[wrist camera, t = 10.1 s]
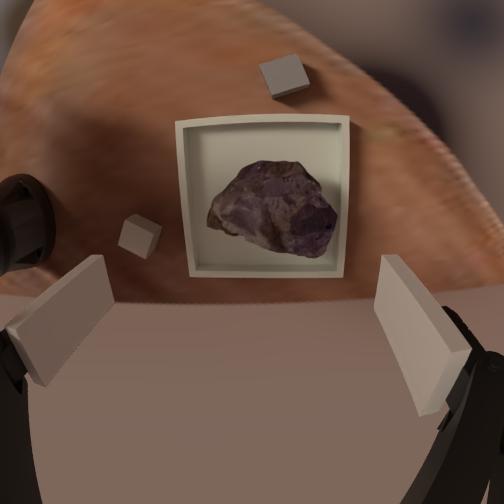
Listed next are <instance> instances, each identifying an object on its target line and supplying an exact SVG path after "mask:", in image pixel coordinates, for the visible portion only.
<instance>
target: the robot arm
mask: <svg viewBox="0 0 504 504" xmlns="http://www.w3.org/2000/svg"><path fill="white" fill-rule="evenodd" d="M54 241H55V221H54V215H53V211H52V207H51V204H50V201H49V199H48V197H47V195H46V193H45V191H44V189H43V188H42V186H41V185H40V184H39V183H38V182H37V181H36V180H35V179H34V178H33V177H31V176H29V175H27V174H17V175H13V176H10V177H8V178H6V179H4V180H3V181H2V182H0V276H2V275H3V274H5V273H6V272H10V271H16V270H22V269H27V268H32V267H35V266H37V265H38V264H40V263H41V262H43V261H44V260H46V259H47V258H48V257H49V255H50V254H51V252H52V249H53V246H54ZM114 303H115V301H114V297H113V294H112V290H111V286H110V282H109V278H108V274H107V270H106V266H105V261H104V257H103V255H91V256H89V257H88V258H87V259H85V260H84V261H83V262H81V263H80V264H79V265H77V266H76V267H75V268H73V269H72V270H71V271H69V272H68V273H67V274H66V275H64V276H63V277H62V278H61V279H59V280H58V281H57V282H56V283H54V284H53V285H52V286H51V287H49V288H48V289H47V290H46V291H44V292H43V293H42V294H41V295H40V296H38V297H37V298H36V299H35V300H34V301H32V302H31V303H30V304H29V305H28V306H27V307H25V308H24V309H23V310H22V311H21V312H20V313H19V314H18V315H16V316H15V317H14V318H13V319H12V320H11V321H10V322H9V323H7V324H6V325H5V329H4V330H3V331H1V332H0V504H42V500H41V496H40V491H39V487H38V482H37V477H36V472H35V466H34V460H33V454H32V446H31V437H30V428H29V413H28V384H27V380H26V379H25V377H24V375H25V374H26V373H27V372H28V373H29V375H30V376H31V378H32V379H33V381H34V383H36V384H39V385H41V386H44V387H47V386H48V384H49V383H50V382H51V381H52V379H53V378H54V377H55V375H56V374H57V373H58V371H59V370H60V369H61V368H62V366H63V365H64V364H65V362H66V361H67V360H68V359H69V357H70V356H71V355H72V354H73V352H74V351H75V350H76V349H77V347H78V346H79V345H80V344H81V342H82V341H83V340H84V339H85V337H86V336H87V335H88V334H89V333H90V332H91V330H92V329H93V328H94V327H95V326H96V324H97V323H98V322H99V321H100V320H101V318H102V317H103V316H104V315H105V314H106V313H107V311H108V310H109V309H110V308H111V307H112V306H113V305H114ZM374 310H375V312H376V315H377V317H378V319H379V321H380V323H381V325H382V328H383V330H384V332H385V334H386V336H387V338H388V341H389V343H390V345H391V348H392V350H393V352H394V354H395V357H396V359H397V361H398V364H399V366H400V368H401V371H402V373H403V376H404V378H405V381H406V383H407V386H408V388H409V391H410V393H411V396H412V399H413V401H414V404H415V407H416V409H417V412H418V415H419V417H421V416H426V415H430V414H434V413H439V411H440V410H441V408H442V406H443V405H444V403H445V401H446V402H447V404H448V406H449V408H450V409H449V411H448V413H447V414H446V416H445V417H444V419H443V421H442V422H441V424H440V425H439V427H438V428H437V429H439V432H438V435H437V437H436V439H435V441H434V443H433V446H432V448H431V450H430V452H429V454H428V456H427V458H426V460H425V462H424V463H423V466H422V467H421V469H420V471H419V473H418V475H417V477H416V478H415V480H414V481H413V483H412V485H411V487H410V488H409V490H408V492H407V493H406V495H405V496H404V498H403V500H402V501H401V503H400V504H481V501H482V499H483V496H484V494H485V491H486V488H487V485H488V482H489V480H490V484H489V492H488V499H487V504H504V356H503V355H501V354H499V353H497V352H493V351H485V350H484V348H483V347H482V346H481V344H480V343H479V342H478V340H477V339H476V337H475V336H474V335H473V334H472V332H471V331H470V330H468V327H467V326H466V324H465V323H463V321H462V319H461V318H460V317H459V316H458V314H457V313H456V312H454V311H453V310H451V309H450V308H448V307H447V306H442V307H441V306H440V305H439V303H438V302H437V301H436V300H435V299H434V297H433V296H432V295H431V293H430V292H429V291H428V290H427V289H426V287H425V286H424V285H423V284H422V283H421V281H420V280H419V279H418V278H417V277H416V275H415V274H414V273H413V272H412V271H411V270H410V268H409V267H408V266H407V265H406V264H405V263H404V262H403V260H402V259H401V258H400V257H399V256H398V255H382V258H381V265H380V272H379V278H378V285H377V291H376V296H375V302H374Z"/></svg>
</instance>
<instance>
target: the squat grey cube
mask: <svg viewBox="0 0 504 504" xmlns="http://www.w3.org/2000/svg"><path fill="white" fill-rule="evenodd" d="M259 67H260V71H261V73H262V75H263V78H264V80H265V83H266V85H267V87H268V90H269V92H270V95H271V97H272V99H274V98H278V97H281V96H284V95H287V94H290V93H293V92H297V91H300V90H304V89H307V88H308V86H309V85H310V82H309V80H308V77H307V75H306V72H305V70H304V68H303V65H302V63H301V61H300V59H299V56H298V54H297V53H296V54H293V55H289V56H286V57H282V58H279V59H276V60H272V61H269V62H266V63H263V64H260V65H259Z"/></svg>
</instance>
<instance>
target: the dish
mask: <svg viewBox="0 0 504 504" xmlns="http://www.w3.org/2000/svg"><path fill="white" fill-rule="evenodd" d="M175 131H176V147H177V162H178V175H179V186H180V197H181V208H182V217H183V227H184V235H185V244H186V252H187V260H188V267H189V275H190V277H215V278H343V272H344V262H345V250H346V237H347V221H348V201H349V166H350V134H349V116H344V115H324V114H257V115H236V116H222V117H210V118H200V119H191V120H182V121H175ZM260 160H266V161H274V162H275V161H289V162H296V161H298V162H299V163H301V164H302V165H303V167H304V168H305V169H306V171H307V172H308V173H309V174H310V175H311V176H313V177H314V178H315V179H316V180H317V181H318V182H319V183H320V186H321V188H322V193H321V195H322V196H323V197H324V199H325V200H326V201H327V202H328V203H329V204H330V205H331V207H332V208H333V209H334V211H335V212H336V213H337V215H338V218H337V222H336V226H335V230H334V233H333V235H332V238H331V240H330V242H329V243H328V245H327V251H326V252H325V253H324V254H323V255H322V256H320V257H318V258H315V259H313V258H306V257H304V256H297V255H294V254H289V253H276V252H273V251H269V250H267V249H263V248H261V247H259V246H257V245H256V244H253V243H249V242H247V241H245V238H244V236H241V235H238V236H230V235H227V234H225V232H224V231H222V230H215V229H212V228H209V227H207V215H208V212H209V209H210V208H211V203H212V201H213V198H214V197H215V196H217V195H218V194H219V193H220V192H222V191H223V190H224V189H225V188H226V187H227V185H228V184H229V183H230V182H231V181H232V180H233V179H234V178H235V177H236V176H237V174H238V173H239V171H240V170H241V169H242V168H243V167H245V166H247V165H250V164H252V163H255V162H257V161H260Z"/></svg>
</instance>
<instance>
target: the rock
mask: <svg viewBox="0 0 504 504" xmlns="http://www.w3.org/2000/svg"><path fill="white" fill-rule="evenodd" d="M321 193H322V188H321V186H320V183H319V182H318V181H317V180H316V179H315V178H314V177H313V176H311V175H310V174H309V173H308V172H307V171H306V169H305V168H304V167H303V165H302V164H301V163H299V162H298V161H296V162H289V161H275V162H274V161H266V160H260V161H257V162H255V163H252V164H250V165H247V166H245V167H243V168H242V169H241V170H240V171H239V173H238V174H237V176H236V177H235V178H234V179H233V180H232V181H231V182H230V183H229V184H228V185H227V187H226V188H225V189H224V190H223V191H222V192H220V193H219V194H218V195H217V196H215V197H214V198H213V201H212V203H211V208H210V209H209V212H208V215H207V227H209V228H212V229H215V230H222V231H224V232H225V234H227V235H230V236H238V235H241V236H244V238H245V241H247V242H249V243H253V244H256V245H257V246H259V247H261V248H263V249H267V250H269V251H273V252H276V253H289V254H294V255H297V256H304V257H306V258H313V259H315V258H318V257H320V256H322V255H323V254H324V253H325V252H326V251H327V245H328V243H329V242H330V240H331V238H332V235H333V233H334V230H335V226H336V222H337V218H338V215H337V213H336V212H335V211H334V209H333V208H332V207H331V205H330V204H329V203H328V202H327V201H326V200H325V199H324V197H323V196H322V195H321Z"/></svg>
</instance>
